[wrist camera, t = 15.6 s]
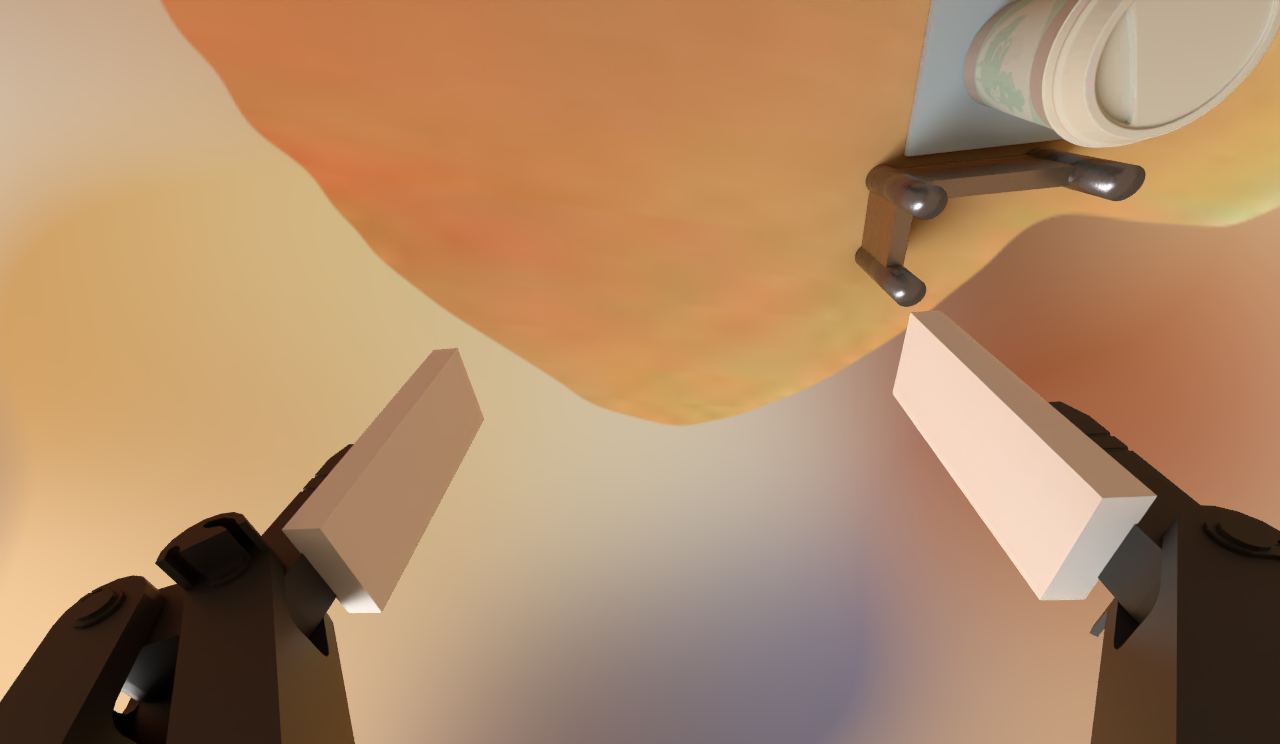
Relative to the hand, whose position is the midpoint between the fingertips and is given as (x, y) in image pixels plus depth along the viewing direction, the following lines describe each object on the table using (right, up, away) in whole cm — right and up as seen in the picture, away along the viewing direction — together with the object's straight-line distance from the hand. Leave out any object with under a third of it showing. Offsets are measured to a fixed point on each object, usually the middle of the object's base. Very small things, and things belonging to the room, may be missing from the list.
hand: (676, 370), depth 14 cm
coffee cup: (+23, +21, +17) cm, 35 cm away
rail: (+23, +13, +22) cm, 35 cm away
